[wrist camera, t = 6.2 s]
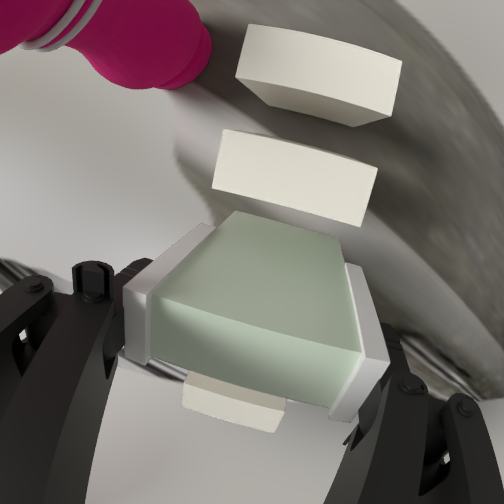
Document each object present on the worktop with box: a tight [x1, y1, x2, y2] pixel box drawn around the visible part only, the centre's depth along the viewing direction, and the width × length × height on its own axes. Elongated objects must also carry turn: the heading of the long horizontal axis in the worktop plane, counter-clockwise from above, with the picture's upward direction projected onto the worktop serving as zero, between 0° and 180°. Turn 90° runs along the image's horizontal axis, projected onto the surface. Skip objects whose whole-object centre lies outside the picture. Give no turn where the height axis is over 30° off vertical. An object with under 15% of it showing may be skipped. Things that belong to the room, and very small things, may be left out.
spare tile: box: [150, 211, 362, 408], centre depth 13 cm, size 6×2×10 cm, turn 77°
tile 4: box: [212, 129, 378, 227], centre depth 16 cm, size 6×2×10 cm, turn 77°
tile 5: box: [235, 24, 402, 127], centre depth 14 cm, size 6×2×10 cm, turn 77°
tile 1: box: [181, 371, 287, 433], centre depth 21 cm, size 6×2×10 cm, turn 77°
